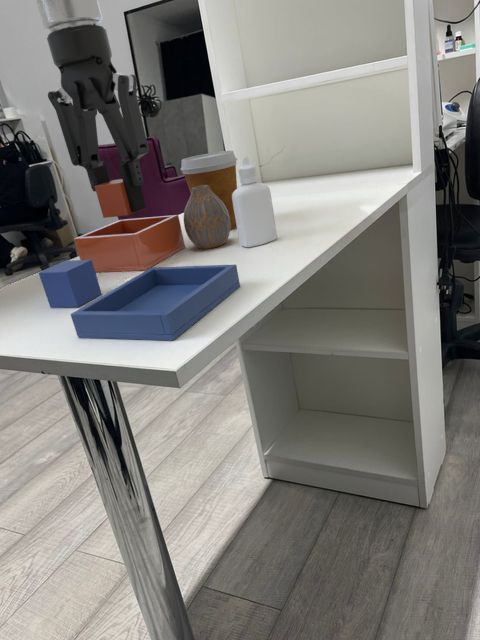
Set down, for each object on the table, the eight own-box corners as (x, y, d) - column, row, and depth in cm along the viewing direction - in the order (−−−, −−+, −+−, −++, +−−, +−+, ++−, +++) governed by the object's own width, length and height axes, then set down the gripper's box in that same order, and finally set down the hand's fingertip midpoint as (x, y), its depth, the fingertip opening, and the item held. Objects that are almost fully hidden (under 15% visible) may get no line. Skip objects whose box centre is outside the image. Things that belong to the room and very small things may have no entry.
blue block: (50, 307, 66) (38, 272, 64) (74, 294, 70) (64, 260, 68) (78, 307, 64) (66, 271, 62) (102, 294, 68) (91, 259, 66)
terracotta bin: (84, 272, 80) (73, 238, 78) (128, 250, 89) (120, 219, 87) (145, 270, 75) (136, 234, 73) (185, 247, 84) (178, 214, 82)
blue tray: (77, 337, 55) (70, 314, 54) (156, 287, 67) (151, 267, 66) (173, 340, 50) (167, 314, 49) (240, 286, 62) (236, 264, 61)
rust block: (103, 217, 78) (94, 186, 76) (121, 210, 82) (113, 180, 80) (128, 215, 76) (119, 182, 74) (146, 208, 80) (138, 176, 78)
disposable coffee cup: (182, 235, 93) (166, 163, 88) (217, 221, 99) (204, 153, 94) (225, 235, 87) (210, 158, 82) (259, 220, 94) (247, 148, 89)
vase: (231, 236, 86) (220, 179, 82) (236, 245, 80) (225, 184, 76) (188, 244, 85) (176, 188, 82) (190, 254, 79) (177, 194, 76)
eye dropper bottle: (239, 242, 81) (224, 159, 76) (276, 236, 81) (264, 152, 76) (240, 249, 77) (225, 162, 72) (279, 242, 77) (266, 154, 72)
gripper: (147, 14, 69) (188, 200, 78) (45, 44, 76) (94, 210, 86) (111, 11, 63) (160, 212, 72) (4, 43, 70) (61, 222, 80)
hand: (124, 211), depth 79 cm, fingers closed on rust block, 4 cm apart
